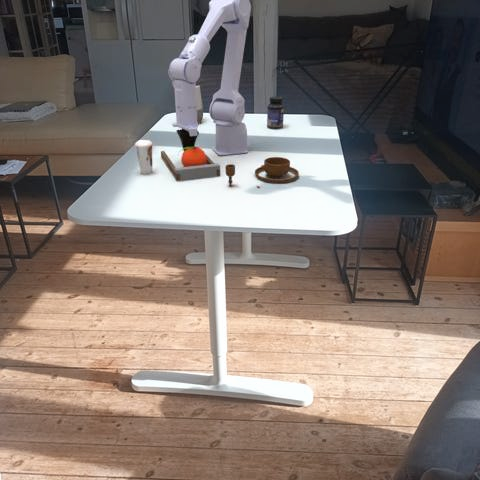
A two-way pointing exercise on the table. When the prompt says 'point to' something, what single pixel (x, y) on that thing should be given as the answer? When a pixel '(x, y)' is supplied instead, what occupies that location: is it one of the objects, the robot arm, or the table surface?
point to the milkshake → (144, 155)
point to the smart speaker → (199, 105)
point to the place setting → (269, 170)
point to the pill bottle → (275, 113)
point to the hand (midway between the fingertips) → (188, 155)
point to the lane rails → (172, 167)
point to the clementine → (193, 157)
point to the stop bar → (197, 171)
